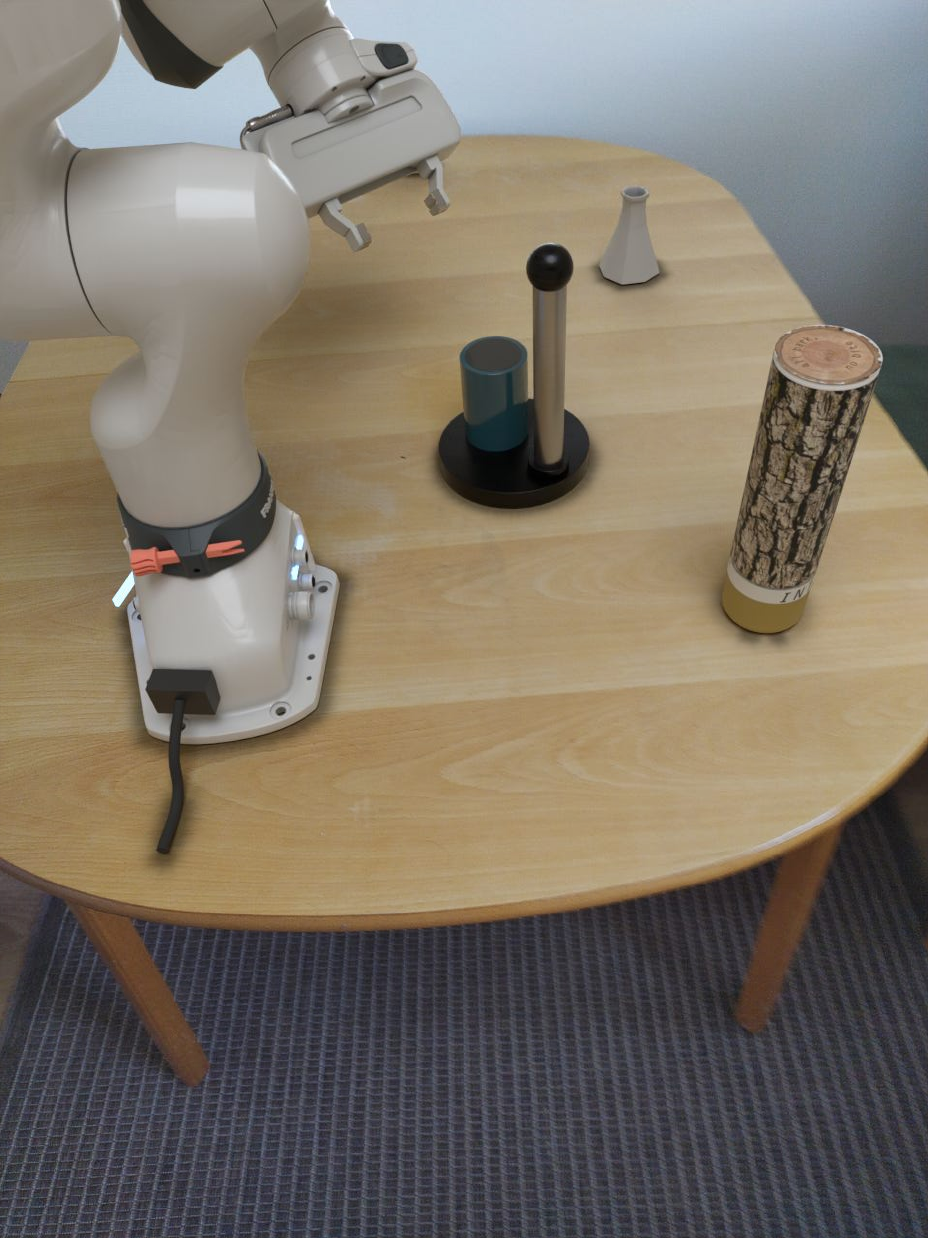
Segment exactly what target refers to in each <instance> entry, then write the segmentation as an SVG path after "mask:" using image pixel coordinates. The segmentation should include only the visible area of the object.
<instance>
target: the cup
mask: <svg viewBox="0 0 928 1238" xmlns="http://www.w3.org/2000/svg"><path fill="white" fill-rule="evenodd" d="M528 357H529V355H528V349H527V348H526V345H524V344H523V343H522V342H521V341H520V340H518V339H515V338H513V337H509V336H504V335H489V336H483V337H479V338H476V339H475V340H472V341H470V342H468V343H467V344H466V345H464V346H463V347H462V349H461V350H460V352H459V370H460V383H461V395H462V397H461V399H462V409H463V410H462V412H464V424H465V435H466V438H467V440H468V441H469V442H470V444H472V445H473V446H475V447H476V448H478V449H481V450H485V451H492V452H499V451H506V450H510V449H512V448H515V447H517V446H518V445H520V444H521V443H522V442H523V441H524V440H525V439H526V438H527V435H528V432H529V425H528V398H529V362H528V361H529V359H528Z"/></svg>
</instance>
